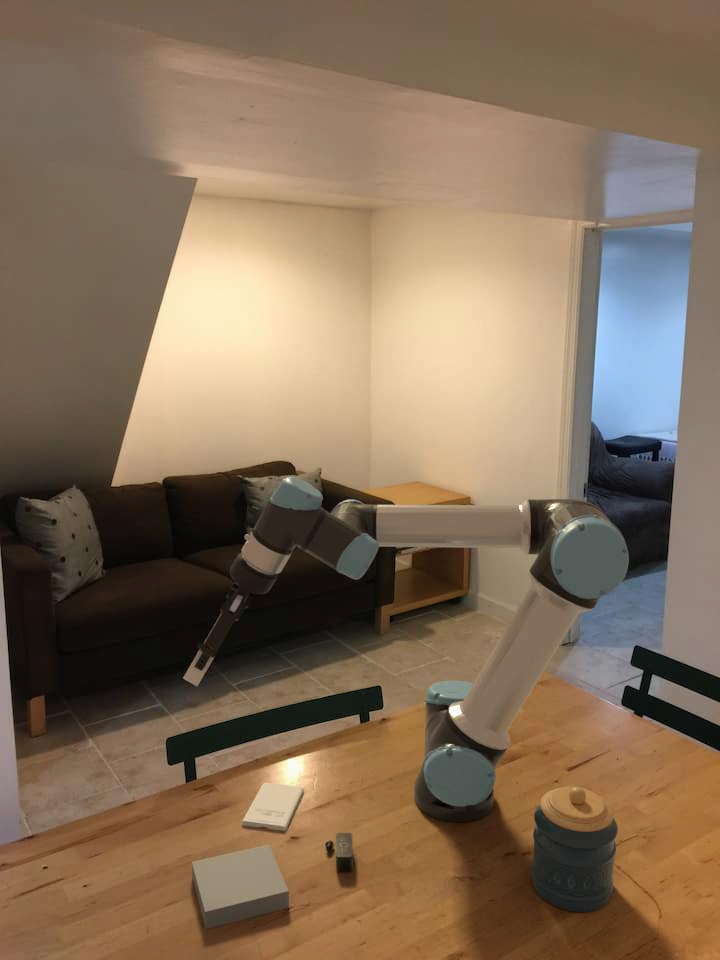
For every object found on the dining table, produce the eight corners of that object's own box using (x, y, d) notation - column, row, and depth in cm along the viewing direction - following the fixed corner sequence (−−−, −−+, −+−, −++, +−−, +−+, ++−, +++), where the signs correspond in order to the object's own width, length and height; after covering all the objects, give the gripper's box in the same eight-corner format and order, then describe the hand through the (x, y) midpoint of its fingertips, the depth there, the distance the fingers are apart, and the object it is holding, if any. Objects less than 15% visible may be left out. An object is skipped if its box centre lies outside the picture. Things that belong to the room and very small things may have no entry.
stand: (269, 859, 139) (269, 844, 139) (288, 907, 128) (288, 890, 128) (192, 877, 135) (191, 861, 134) (205, 929, 124) (205, 911, 123)
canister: (599, 926, 125) (607, 823, 121) (518, 894, 132) (524, 795, 128) (621, 877, 136) (630, 781, 132) (546, 849, 142) (552, 757, 139)
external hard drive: (303, 794, 159) (285, 834, 147) (263, 789, 160) (241, 827, 148) (303, 787, 158) (285, 826, 147) (263, 781, 160) (241, 819, 148)
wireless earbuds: (351, 846, 143) (351, 829, 142) (352, 874, 136) (352, 857, 135) (325, 846, 143) (325, 830, 142) (324, 874, 136) (324, 857, 135)
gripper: (254, 530, 148) (200, 623, 153) (222, 577, 124) (160, 686, 129) (290, 551, 149) (235, 643, 153) (265, 601, 124) (201, 709, 129)
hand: (200, 663), depth 141 cm, fingers open, 13 cm apart
